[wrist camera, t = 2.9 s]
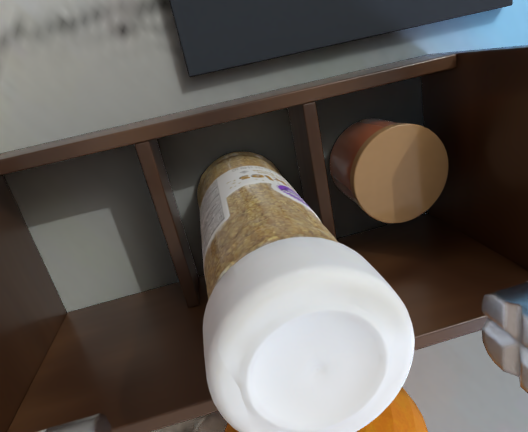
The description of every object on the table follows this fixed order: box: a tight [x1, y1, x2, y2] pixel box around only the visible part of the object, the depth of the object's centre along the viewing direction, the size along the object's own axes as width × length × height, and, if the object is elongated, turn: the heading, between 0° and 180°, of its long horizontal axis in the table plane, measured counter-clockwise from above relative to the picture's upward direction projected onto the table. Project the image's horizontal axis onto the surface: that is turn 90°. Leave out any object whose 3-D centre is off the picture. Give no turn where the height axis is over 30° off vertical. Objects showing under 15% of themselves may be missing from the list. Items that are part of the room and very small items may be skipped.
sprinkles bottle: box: [197, 152, 415, 432], centre depth 14 cm, size 5×5×14 cm
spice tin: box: [330, 118, 448, 223], centre depth 20 cm, size 5×5×4 cm
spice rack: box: [0, 45, 528, 432], centre depth 16 cm, size 22×9×9 cm, turn 102°
